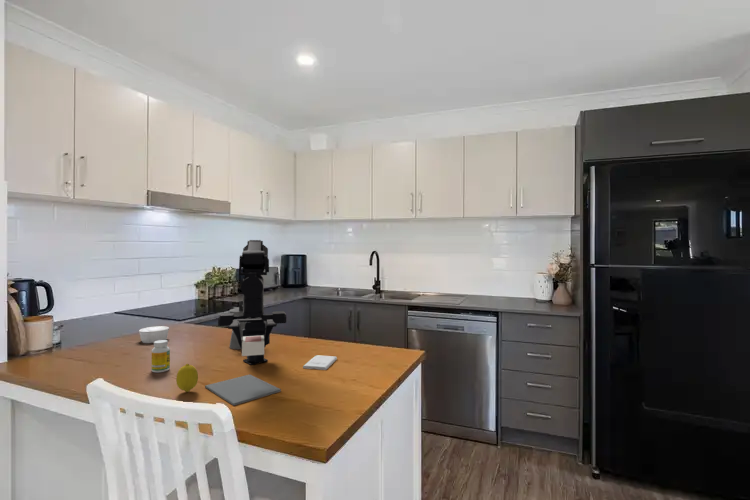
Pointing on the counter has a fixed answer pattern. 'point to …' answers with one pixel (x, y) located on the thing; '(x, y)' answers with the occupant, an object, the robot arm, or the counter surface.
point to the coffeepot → (233, 341)
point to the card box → (253, 345)
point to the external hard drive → (320, 362)
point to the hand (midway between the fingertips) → (253, 347)
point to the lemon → (187, 377)
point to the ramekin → (153, 334)
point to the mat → (242, 389)
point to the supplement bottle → (160, 356)
